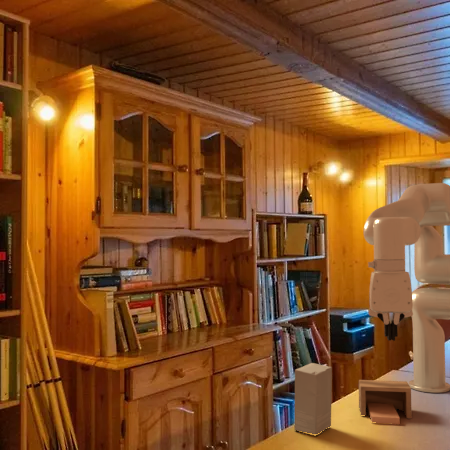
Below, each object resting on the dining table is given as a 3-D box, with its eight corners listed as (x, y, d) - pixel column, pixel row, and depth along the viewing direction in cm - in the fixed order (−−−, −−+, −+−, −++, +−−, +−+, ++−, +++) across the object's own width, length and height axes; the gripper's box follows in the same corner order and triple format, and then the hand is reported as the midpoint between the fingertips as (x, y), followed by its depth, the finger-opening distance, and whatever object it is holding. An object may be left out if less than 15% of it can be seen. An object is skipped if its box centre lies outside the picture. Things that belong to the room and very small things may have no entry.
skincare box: (309, 422, 143) (309, 361, 144) (334, 428, 139) (333, 365, 139) (292, 432, 137) (291, 368, 137) (317, 438, 132) (316, 372, 133)
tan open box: (359, 407, 156) (358, 378, 156) (406, 409, 154) (406, 380, 154) (361, 416, 148) (360, 386, 148) (411, 418, 146) (411, 388, 146)
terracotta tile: (367, 410, 154) (367, 402, 154) (392, 411, 153) (392, 403, 153) (371, 425, 142) (371, 416, 142) (399, 426, 141) (399, 417, 141)
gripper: (360, 267, 136) (361, 342, 136) (423, 267, 133) (425, 343, 133) (358, 265, 143) (359, 336, 143) (418, 265, 141) (419, 337, 140)
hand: (391, 339), depth 138 cm, fingers closed
